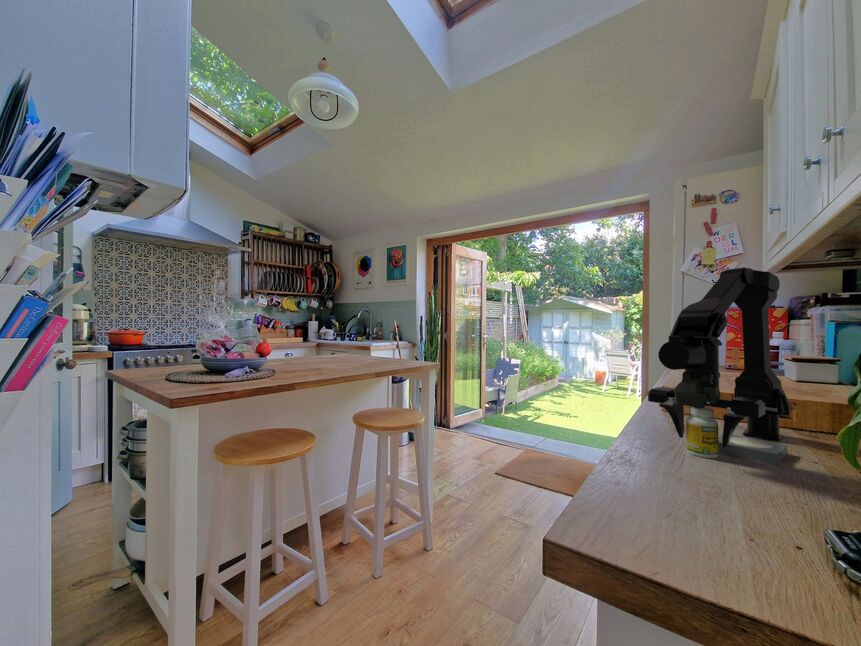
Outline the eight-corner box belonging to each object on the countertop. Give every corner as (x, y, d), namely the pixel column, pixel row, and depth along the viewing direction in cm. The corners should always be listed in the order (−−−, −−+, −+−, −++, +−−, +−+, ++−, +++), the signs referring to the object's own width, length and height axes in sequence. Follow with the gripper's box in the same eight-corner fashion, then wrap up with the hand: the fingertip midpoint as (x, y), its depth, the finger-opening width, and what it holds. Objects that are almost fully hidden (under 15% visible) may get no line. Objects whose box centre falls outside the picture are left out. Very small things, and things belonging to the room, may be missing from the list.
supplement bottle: (702, 449, 76) (701, 405, 76) (726, 458, 70) (725, 410, 71) (680, 450, 75) (679, 405, 75) (702, 459, 70) (702, 411, 70)
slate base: (726, 441, 81) (726, 432, 81) (787, 454, 73) (787, 444, 73) (712, 450, 75) (712, 440, 75) (776, 465, 67) (776, 454, 67)
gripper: (636, 366, 76) (637, 437, 76) (749, 375, 61) (751, 464, 60) (658, 363, 82) (658, 429, 82) (765, 370, 67) (766, 451, 67)
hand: (702, 441), depth 73 cm, fingers open, 7 cm apart
